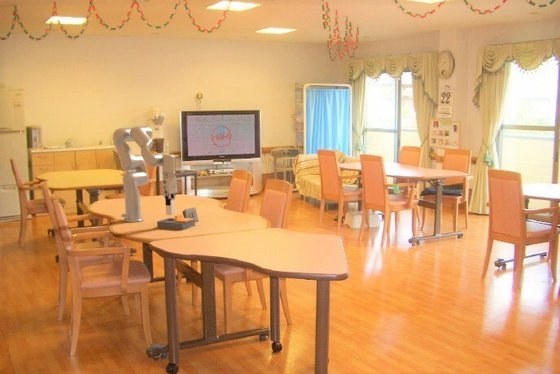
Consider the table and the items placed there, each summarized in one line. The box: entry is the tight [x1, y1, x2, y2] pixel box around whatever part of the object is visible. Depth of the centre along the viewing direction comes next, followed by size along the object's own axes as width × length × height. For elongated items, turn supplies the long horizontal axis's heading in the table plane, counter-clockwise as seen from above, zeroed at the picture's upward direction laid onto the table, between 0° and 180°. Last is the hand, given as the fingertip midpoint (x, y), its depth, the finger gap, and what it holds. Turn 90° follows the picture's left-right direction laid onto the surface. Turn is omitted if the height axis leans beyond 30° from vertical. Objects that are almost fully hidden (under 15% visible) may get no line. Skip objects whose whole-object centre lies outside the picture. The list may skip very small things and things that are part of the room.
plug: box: [165, 197, 176, 216], centre depth 371 cm, size 4×4×10 cm
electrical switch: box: [182, 207, 199, 223], centre depth 386 cm, size 9×5×9 cm, turn 141°
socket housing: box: [156, 217, 196, 231], centre depth 371 cm, size 18×14×4 cm
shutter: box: [174, 213, 193, 222], centre depth 368 cm, size 8×9×3 cm
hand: (170, 204), depth 371 cm, fingers closed on plug, 4 cm apart
